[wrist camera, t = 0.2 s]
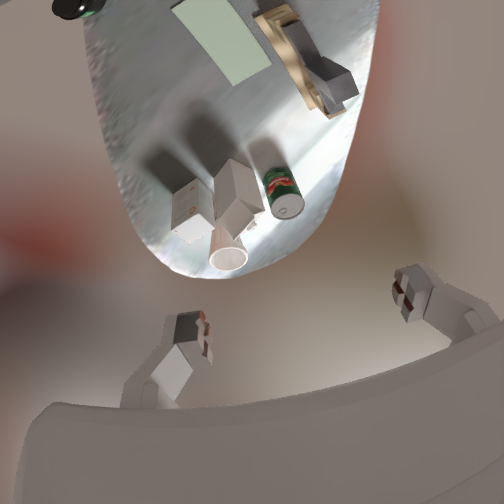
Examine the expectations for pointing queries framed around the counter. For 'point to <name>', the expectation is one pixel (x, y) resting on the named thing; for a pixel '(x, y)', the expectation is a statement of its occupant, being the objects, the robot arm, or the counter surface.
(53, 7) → the supplement bottle
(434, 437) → the robot arm
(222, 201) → the milk carton
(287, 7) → the stand
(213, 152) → the counter surface
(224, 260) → the cup
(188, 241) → the small box
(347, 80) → the grey inverted t block
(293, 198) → the canned tomato
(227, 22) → the mat
